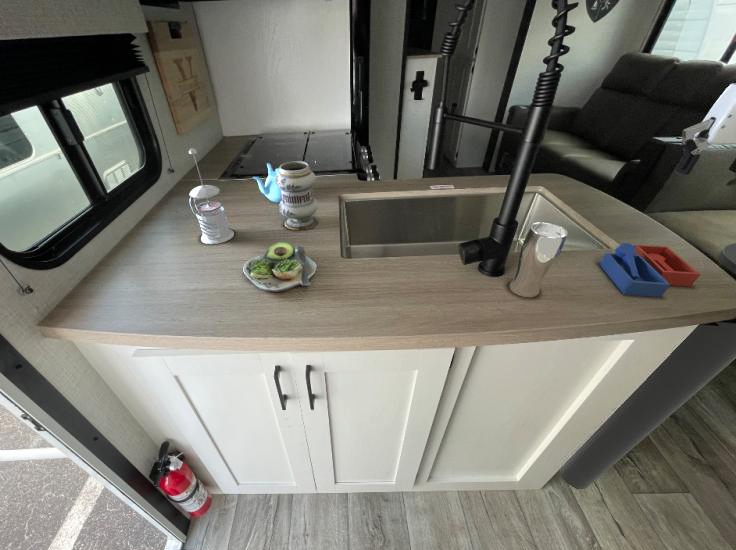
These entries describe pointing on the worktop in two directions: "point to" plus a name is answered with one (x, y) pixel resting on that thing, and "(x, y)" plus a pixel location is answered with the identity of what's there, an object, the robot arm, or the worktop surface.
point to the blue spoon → (628, 259)
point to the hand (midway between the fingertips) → (708, 172)
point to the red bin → (682, 269)
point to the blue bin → (643, 285)
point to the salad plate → (280, 268)
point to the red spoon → (660, 261)
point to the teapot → (270, 185)
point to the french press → (210, 213)
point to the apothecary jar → (297, 194)
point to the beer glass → (537, 257)
